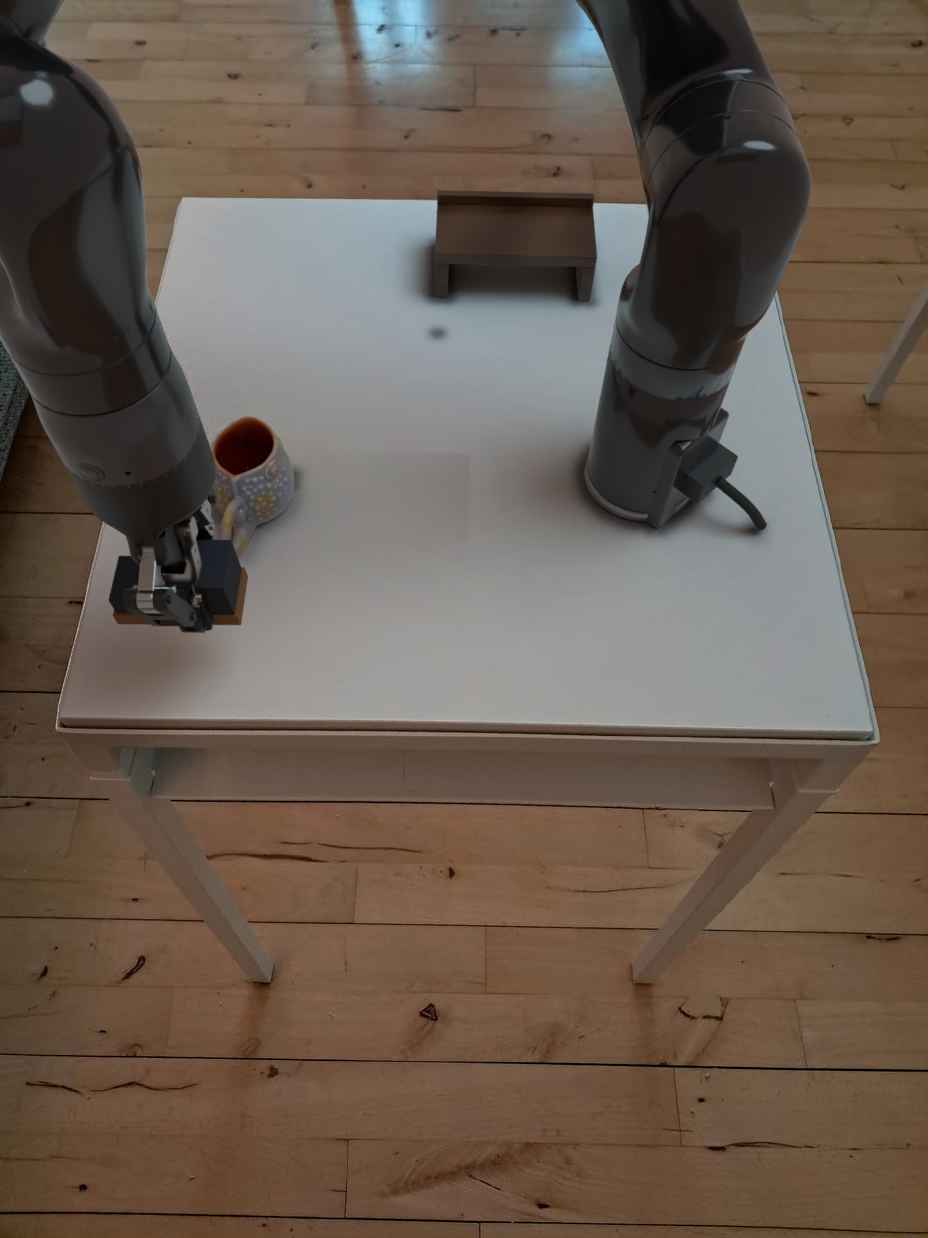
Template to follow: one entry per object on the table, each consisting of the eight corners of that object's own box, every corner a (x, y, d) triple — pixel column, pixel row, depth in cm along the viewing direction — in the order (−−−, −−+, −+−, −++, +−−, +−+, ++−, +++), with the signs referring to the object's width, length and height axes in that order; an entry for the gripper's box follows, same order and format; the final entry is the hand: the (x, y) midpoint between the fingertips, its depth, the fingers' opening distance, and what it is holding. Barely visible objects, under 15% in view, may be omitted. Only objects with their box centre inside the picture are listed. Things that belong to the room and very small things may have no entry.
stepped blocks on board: (248, 576, 66) (234, 538, 62) (241, 625, 64) (226, 589, 60) (128, 575, 66) (107, 537, 62) (117, 624, 64) (95, 588, 60)
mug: (229, 459, 82) (212, 405, 76) (306, 470, 81) (295, 417, 75) (186, 573, 76) (164, 524, 70) (268, 586, 75) (254, 537, 69)
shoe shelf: (586, 247, 96) (594, 192, 91) (590, 300, 92) (598, 247, 87) (437, 244, 96) (437, 189, 91) (435, 297, 92) (434, 244, 87)
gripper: (176, 536, 46) (245, 690, 61) (216, 332, 53) (269, 514, 68) (23, 535, 46) (129, 689, 61) (84, 331, 53) (166, 513, 68)
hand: (203, 596), depth 65 cm, fingers closed on stepped blocks on board, 4 cm apart
